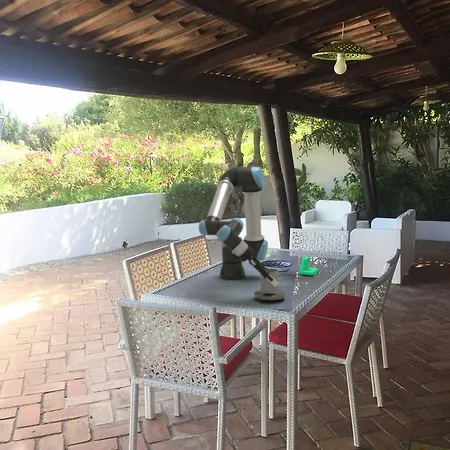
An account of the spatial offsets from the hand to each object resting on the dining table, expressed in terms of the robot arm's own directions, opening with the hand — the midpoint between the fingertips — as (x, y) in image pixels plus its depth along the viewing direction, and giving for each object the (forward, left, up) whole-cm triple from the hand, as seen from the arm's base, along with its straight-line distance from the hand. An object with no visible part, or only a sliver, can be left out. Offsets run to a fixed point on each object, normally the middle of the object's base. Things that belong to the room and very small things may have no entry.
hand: (276, 282), depth 242 cm
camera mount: (+12, +55, -9) cm, 57 cm away
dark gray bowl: (-3, -1, -8) cm, 9 cm away
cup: (-3, -1, -4) cm, 5 cm away
